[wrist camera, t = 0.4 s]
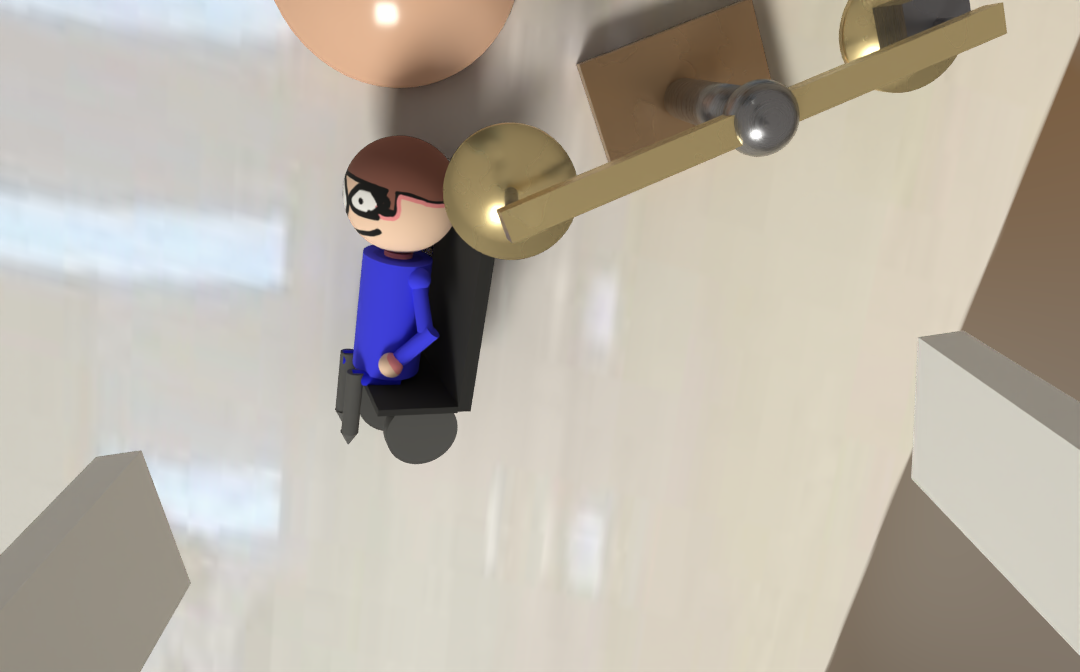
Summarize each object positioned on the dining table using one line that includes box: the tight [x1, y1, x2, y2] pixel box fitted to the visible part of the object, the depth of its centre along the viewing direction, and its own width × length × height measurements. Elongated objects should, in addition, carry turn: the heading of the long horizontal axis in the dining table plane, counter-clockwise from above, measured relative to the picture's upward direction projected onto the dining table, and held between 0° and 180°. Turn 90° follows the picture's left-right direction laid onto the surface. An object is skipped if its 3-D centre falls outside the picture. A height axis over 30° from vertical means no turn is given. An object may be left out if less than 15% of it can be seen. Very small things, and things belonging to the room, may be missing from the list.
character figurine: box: [335, 136, 495, 464], centre depth 35 cm, size 8×7×15 cm
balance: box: [443, 0, 1007, 260], centre depth 29 cm, size 6×22×15 cm, turn 110°
